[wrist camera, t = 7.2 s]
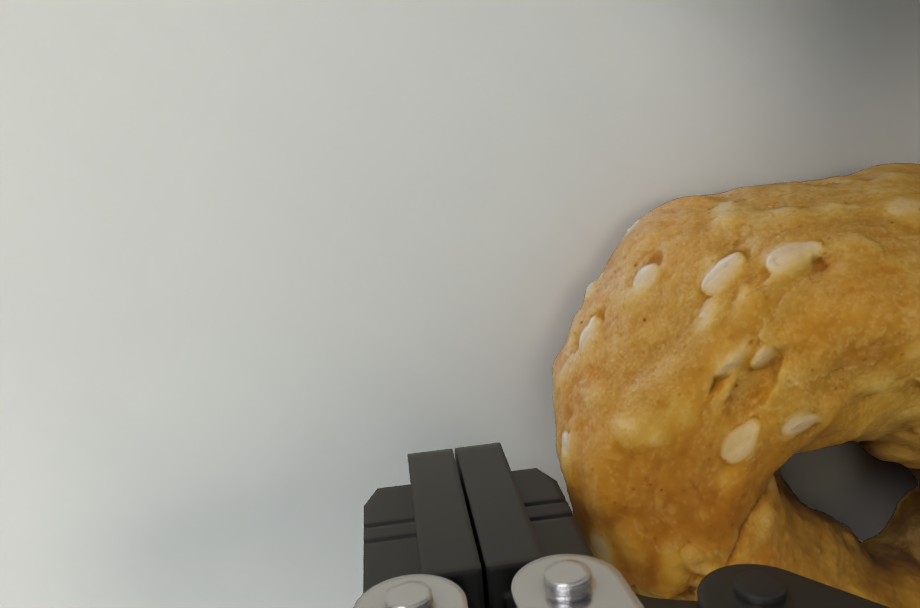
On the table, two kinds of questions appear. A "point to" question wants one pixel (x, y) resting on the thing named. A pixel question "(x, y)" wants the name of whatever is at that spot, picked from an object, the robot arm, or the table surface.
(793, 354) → the bagel
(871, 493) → the table surface
